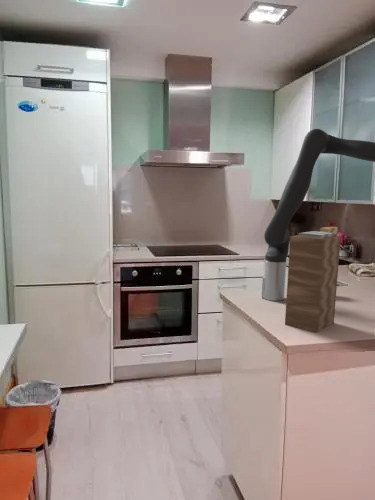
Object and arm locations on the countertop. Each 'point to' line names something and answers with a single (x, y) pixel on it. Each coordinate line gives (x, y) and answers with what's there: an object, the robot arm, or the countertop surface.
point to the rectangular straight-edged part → (320, 233)
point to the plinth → (312, 282)
